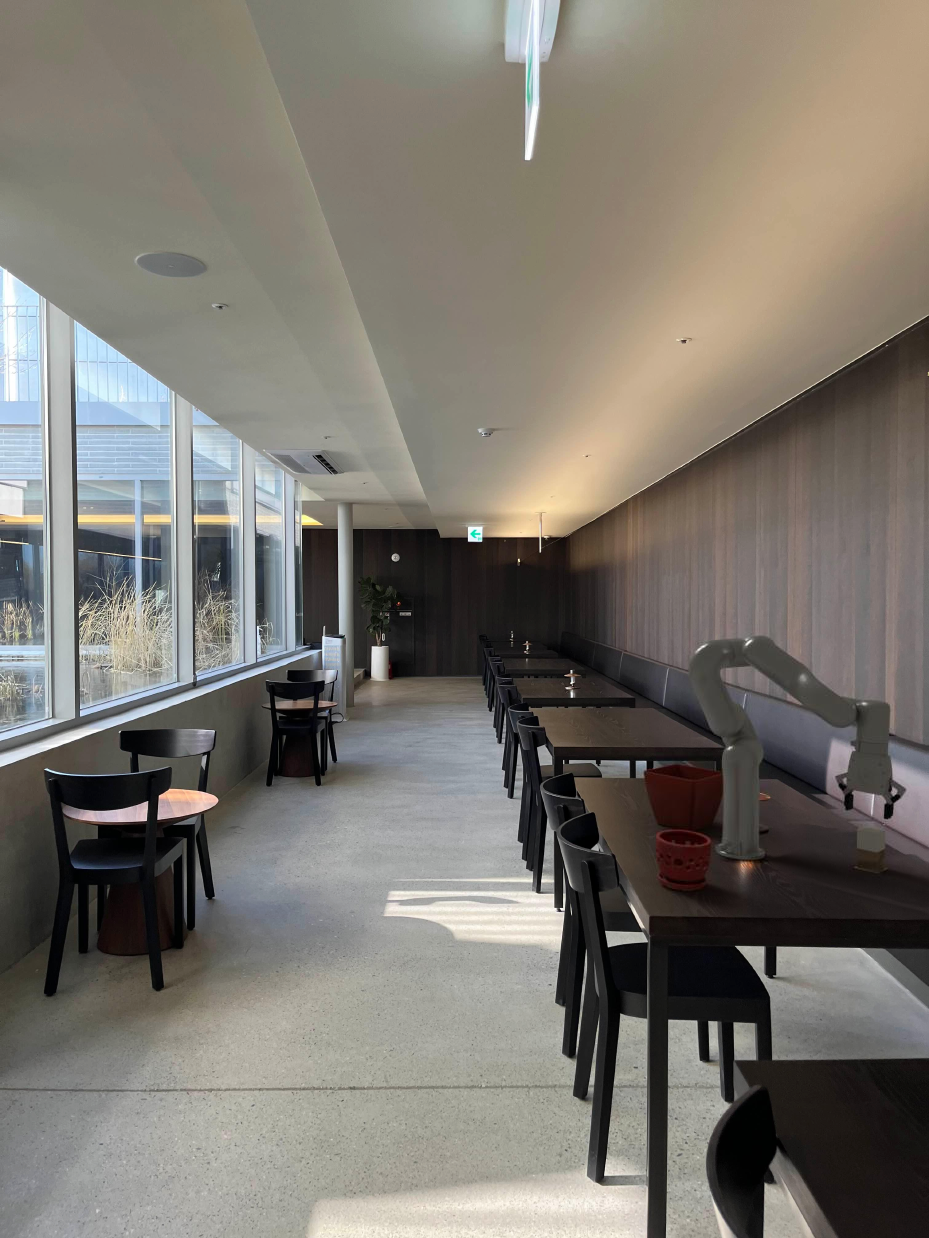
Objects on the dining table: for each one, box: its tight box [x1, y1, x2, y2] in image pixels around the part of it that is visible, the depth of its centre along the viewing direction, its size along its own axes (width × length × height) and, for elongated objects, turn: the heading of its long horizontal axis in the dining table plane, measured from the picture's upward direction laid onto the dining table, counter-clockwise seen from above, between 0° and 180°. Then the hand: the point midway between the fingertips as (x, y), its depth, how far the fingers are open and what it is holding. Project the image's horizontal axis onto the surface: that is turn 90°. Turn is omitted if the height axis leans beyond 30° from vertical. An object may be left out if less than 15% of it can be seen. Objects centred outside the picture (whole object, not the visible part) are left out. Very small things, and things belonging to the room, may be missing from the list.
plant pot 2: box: [655, 829, 712, 892], centre depth 196 cm, size 13×13×12 cm
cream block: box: [856, 825, 886, 852], centre depth 208 cm, size 5×5×5 cm
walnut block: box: [856, 847, 886, 873], centre depth 207 cm, size 5×5×5 cm
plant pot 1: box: [643, 763, 723, 832], centre depth 253 cm, size 19×19×17 cm
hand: (867, 813), depth 208 cm, fingers open, 9 cm apart
